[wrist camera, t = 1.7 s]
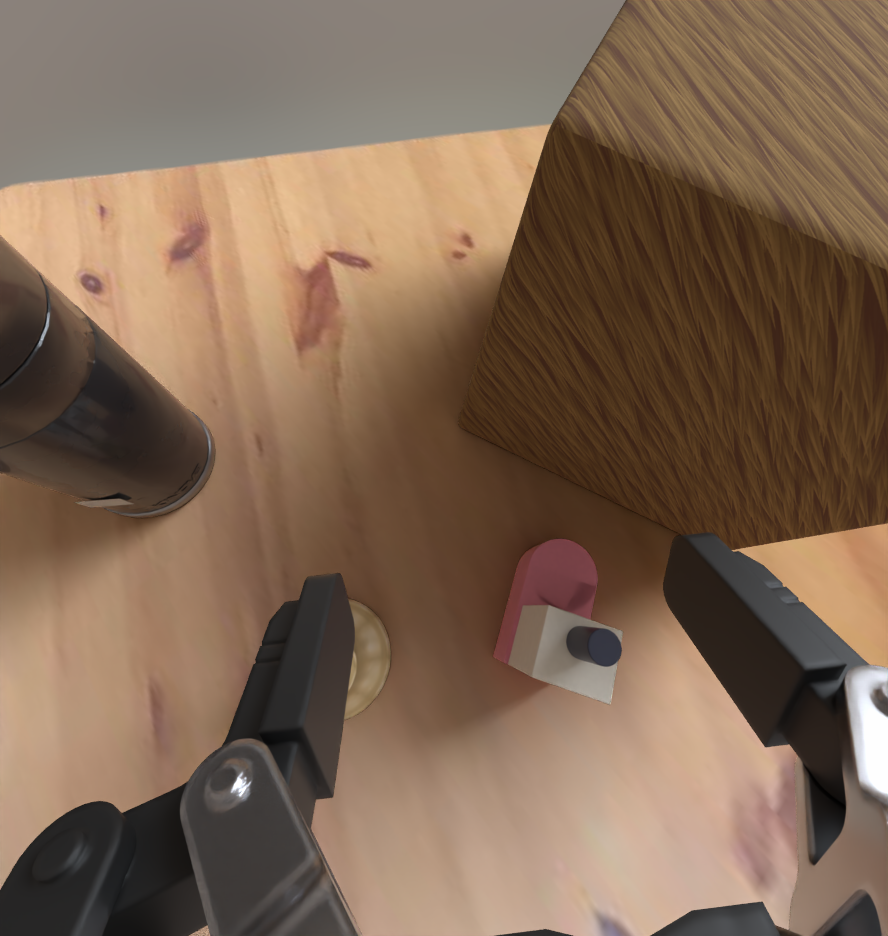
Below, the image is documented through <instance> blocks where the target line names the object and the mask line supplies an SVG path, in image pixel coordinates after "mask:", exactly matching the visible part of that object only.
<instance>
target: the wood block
mask: <svg viewBox="0 0 888 936" xmlns="http://www.w3.org/2000/svg"><path fill="white" fill-rule="evenodd" d="M458 422H459V425H460V427H462V428H463V429H465V430H467V431H469V432H471V433H473V434H475V435H477V436H479V437H481V438H483V439H485V440H487V441H490V442H492V443H494V444H496V445H498V446H500V447H502V448H504V449H506V450H508V451H510V452H512V453H514V454H516V455H518V456H520V457H523V458H525V459H527V460H529V461H531V462H533V463H535V464H537V465H539V466H541V467H543V468H545V469H547V470H549V471H551V472H553V473H556V474H558V475H560V476H562V477H564V478H566V479H568V480H570V481H572V482H574V483H576V484H578V485H580V486H582V487H584V488H586V489H589V490H591V491H593V492H595V493H597V494H599V495H601V496H603V497H605V498H607V499H609V500H611V501H613V502H615V503H617V504H619V505H622V506H624V507H626V508H628V509H630V510H632V511H634V512H636V513H638V514H640V515H642V516H644V517H646V518H648V519H650V520H652V521H655V522H657V523H659V524H661V525H663V526H665V527H667V528H669V529H671V530H673V531H675V532H677V533H679V534H681V535H688V534H697V533H706V532H711V533H713V534H715V535H716V536H717V537H719V538H720V539H721V540H722V541H723V542H724V543H725V544H726V545H727V546H728V547H729V548H730V549H731V550H734V549H740V548H746V547H752V546H758V545H764V544H769V543H775V542H781V541H787V540H793V539H799V538H804V537H810V536H816V535H822V534H828V533H834V532H839V531H845V530H851V529H857V528H863V527H869V526H874V525H880V524H886V523H888V0H626V1H625V3H624V5H623V6H622V8H621V10H620V11H619V13H618V14H617V16H616V18H615V19H614V21H613V23H612V24H611V26H610V28H609V29H608V31H607V33H606V34H605V36H604V38H603V39H602V41H601V43H600V45H599V46H598V48H597V49H596V51H595V53H594V54H593V56H592V58H591V59H590V61H589V63H588V64H587V66H586V67H585V69H584V71H583V72H582V74H581V76H580V77H579V79H578V81H577V82H576V84H575V86H574V87H573V89H572V91H571V93H570V94H569V96H568V97H567V99H566V101H565V102H564V104H563V106H562V107H561V109H560V111H559V112H558V114H557V116H556V118H555V120H554V121H553V123H552V125H551V127H550V129H549V132H548V134H547V137H546V140H545V143H544V146H543V150H542V153H541V156H540V159H539V162H538V166H537V169H536V172H535V175H534V178H533V182H532V185H531V188H530V191H529V195H528V198H527V201H526V204H525V207H524V211H523V214H522V217H521V220H520V223H519V227H518V230H517V233H516V236H515V240H514V243H513V246H512V249H511V252H510V256H509V259H508V262H507V265H506V268H505V272H504V275H503V278H502V281H501V285H500V288H499V291H498V294H497V297H496V301H495V304H494V307H493V310H492V313H491V317H490V320H489V323H488V326H487V330H486V333H485V336H484V339H483V342H482V346H481V349H480V352H479V355H478V358H477V362H476V365H475V368H474V371H473V375H472V378H471V381H470V384H469V387H468V391H467V394H466V397H465V400H464V403H463V407H462V410H461V413H460V416H459V421H458Z"/></svg>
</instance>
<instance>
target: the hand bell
mask: <svg viewBox="0 0 888 936" xmlns="http://www.w3.org/2000/svg"><path fill="white" fill-rule="evenodd" d="M348 600H349V604H350V607H351V611H352V615H353V619H354V626H355V644H354V651H353V659H352V666H351V673H350V680H349V687H348V694H347V701H346V709H345V716H344V720H346V719H349V718H351V717H353V716H355V715H357V714H359V713H360V712H362V711H363V710H364V709H366V708H367V707H368V706H369V705H370V704H371V703H372V702H373V701H374V699H375V698H376V697H377V696H378V694H379V693H380V691H381V689H382V688H383V686H384V684H385V681H386V679H387V676H388V673H389V669H390V662H391V649H390V642H389V637H388V635H387V632H386V629H385V627H384V625H383V623H382V622H381V620H380V619H379V618H378V616H377V615H376V614H375V613H374V612H373V611H372V610H371V609H370V608H368V607H367V606H365V605H363V604H361V603H359V602H357V601H354V600H351V599H348Z"/></svg>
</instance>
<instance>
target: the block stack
mask: <svg viewBox="0 0 888 936" xmlns="http://www.w3.org/2000/svg"><path fill="white" fill-rule="evenodd" d="M597 582H598V575H597V569H596V566H595V563H594V561H593V559H592V557H591V556H590V554H589V553H588V552H587V551H586V550H585V549H584V548H583V547H582V546H580V545H579V544H577V543H576V542H573V541H571V540H567V539H552V540H549V541H546V542H544V543H542V544H539V545H537V546H535V547H533V548H531V549H529V550H528V551H527V552H525V553H524V555H523V556H522V557H521V559H520V560H519V562H518V565H517V569H516V572H515V576H514V580H513V584H512V587H511V591H510V595H509V599H508V602H507V606H506V610H505V613H504V617H503V621H502V625H501V628H500V632H499V636H498V640H497V643H496V647H495V651H494V654H493V657H494V658H496V659H498V660H499V661H501V662H503V663H505V664H508V665H510V666H512V667H514V668H516V669H518V670H519V671H521V672H523V673H525V674H527V675H529V676H531V677H533V678H535V679H538V680H541V681H544V682H547V683H549V684H552V685H555V686H558V687H561V688H564V689H566V690H569V691H572V692H575V693H578V694H581V695H583V696H586V697H589V698H592V699H595V700H598V701H600V702H603V703H606V704H609V705H610V704H611V698H612V693H613V687H614V681H615V675H616V670H617V664H618V660H619V659H620V656H621V652H622V648H621V641H622V636H623V631H622V630H619V629H616V628H613V627H610V626H607V625H605V624H602V623H599V622H596V621H593V620H590V618H591V613H592V608H593V603H594V598H595V593H596V589H597Z"/></svg>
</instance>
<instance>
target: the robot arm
mask: <svg viewBox="0 0 888 936" xmlns="http://www.w3.org/2000/svg"><path fill="white" fill-rule="evenodd" d="M214 461H215V444H214V440H213V437H212V434H211V433H210V431H209V429H208V427H207V426H206V425H205V424H204V422H203V421H202V420H201V419H200V418H198V417H197V416H196V415H195V414H194V413H193V412H191V411H190V410H188V409H187V408H186V407H185V406H184V405H183V404H181V403H180V401H178V400H177V399H176V398H175V397H174V396H173V395H172V394H171V393H170V392H169V391H168V390H167V389H166V388H165V387H164V386H162V385H161V384H160V383H159V382H158V381H157V380H156V379H155V378H154V377H153V376H152V375H151V374H150V373H148V372H147V371H146V370H145V369H144V368H143V367H142V366H141V365H140V364H139V363H138V362H137V361H136V360H134V359H133V358H132V357H131V356H130V355H129V354H128V353H127V352H126V351H125V350H124V349H123V348H122V347H120V346H119V345H118V344H117V343H116V342H115V341H114V340H113V339H112V338H111V337H110V336H109V335H108V334H106V333H105V332H104V331H103V330H102V329H101V328H100V327H99V326H98V325H97V324H96V323H95V322H94V321H92V320H91V319H90V318H89V317H88V316H87V315H86V314H85V313H84V312H83V311H82V310H81V309H80V308H79V307H77V306H76V305H75V304H74V303H73V302H72V301H70V300H69V299H68V298H67V297H66V296H65V295H64V294H63V293H62V292H61V291H60V290H59V289H58V288H56V287H55V286H54V285H53V284H52V283H51V282H50V281H49V280H48V279H47V278H46V277H45V276H44V275H42V274H41V273H40V272H39V271H38V270H37V269H36V268H35V267H34V266H33V265H32V264H31V263H30V262H29V261H27V260H26V259H25V258H24V257H23V256H22V255H21V254H20V253H19V252H18V251H17V250H16V249H14V248H13V247H12V246H11V245H10V244H9V243H8V242H7V241H6V240H5V239H4V238H3V237H2V236H1V235H0V473H3V474H6V475H9V476H12V477H15V478H18V479H21V480H24V481H27V482H30V483H33V484H35V485H38V486H41V487H44V488H47V489H50V490H53V491H56V492H59V493H62V494H65V495H68V496H71V497H74V498H77V499H80V500H83V501H84V502H74V503H77V504H80V505H84V506H87V507H90V508H92V507H102V508H104V509H106V510H108V511H111V512H114V513H117V514H120V515H123V516H127V517H134V518H147V517H154V516H159V515H162V514H166V513H168V512H171V511H173V510H175V509H177V508H179V507H181V506H182V505H184V504H185V503H187V502H188V501H190V500H191V499H192V498H193V497H194V496H195V495H196V494H197V493H198V492H199V491H200V490H201V489H202V487H203V486H204V485H205V483H206V482H207V480H208V478H209V476H210V474H211V472H212V469H213V465H214ZM663 591H664V596H665V599H666V602H667V604H668V606H669V608H670V610H671V611H672V613H673V614H674V616H675V617H676V619H677V620H678V622H679V623H680V624H681V626H682V627H683V629H684V630H685V632H686V633H687V635H688V636H689V638H690V639H691V640H692V642H693V643H694V645H695V646H696V648H697V649H698V651H699V652H700V653H701V655H702V656H703V658H704V659H705V661H706V662H707V664H708V665H709V666H710V668H711V669H712V671H713V672H714V674H715V675H716V677H717V678H718V680H719V681H720V682H721V684H722V685H723V687H724V688H725V690H726V691H727V693H728V694H729V695H730V697H731V698H732V700H733V701H734V703H735V704H736V706H737V707H738V709H739V710H740V711H741V713H742V714H743V716H744V717H745V719H746V720H747V722H748V723H749V724H750V726H751V727H752V729H753V730H754V732H755V733H756V735H757V736H758V738H759V739H760V740H761V742H762V743H763V745H764V746H765V747H771V746H779V745H788V744H790V746H791V747H792V748H793V750H794V751H795V752H796V754H797V755H798V757H797V759H796V762H795V796H796V824H797V852H798V873H797V881H796V886H795V889H794V892H793V896H792V901H791V907H790V917H789V930H786V929H784V928H781V927H778V926H775V925H774V923H773V921H772V919H771V917H770V915H769V913H768V911H767V909H766V907H765V906H764V904H763V902H756V903H748V904H740V905H732V906H724V907H716V908H708V909H701V910H693V911H691V912H689V913H687V914H686V915H684V916H682V917H681V918H679V919H677V920H676V921H674V922H672V923H671V924H669V925H667V926H666V927H664V928H662V929H661V930H659V931H657V932H656V933H654V934H652V935H651V936H888V668H886V667H881V666H876V665H869V664H868V663H867V662H866V661H865V660H864V659H863V658H861V657H860V656H859V655H858V654H857V653H856V652H855V651H854V650H853V649H852V648H851V647H850V646H849V645H848V644H847V643H845V642H844V641H843V640H842V639H841V638H840V637H839V636H838V635H837V634H836V633H835V632H834V631H833V630H832V629H831V628H830V627H828V626H827V625H826V624H825V623H824V622H823V621H822V620H821V619H820V618H819V617H818V616H817V615H816V614H815V613H814V612H813V611H811V610H810V609H809V608H808V607H807V606H806V605H805V604H804V603H803V602H799V600H798V597H797V596H795V595H794V594H793V593H792V592H791V591H790V590H789V589H788V588H787V587H783V585H782V582H781V581H780V580H778V579H777V578H776V577H775V576H774V575H773V574H772V573H771V572H770V571H769V570H768V569H767V568H766V567H765V566H764V565H762V564H760V563H758V562H757V561H755V560H753V559H751V558H750V557H748V556H746V555H744V554H743V553H741V552H739V551H737V552H733V551H732V550H731V549H730V548H729V547H728V546H727V545H726V544H725V543H724V542H723V541H722V540H721V539H720V538H719V537H717V536H716V535H715V534H713V533H711V532H706V533H697V534H688V535H680V536H676V537H675V538H674V539H673V542H672V545H671V550H670V555H669V559H668V564H667V568H666V573H665V577H664V582H663ZM354 644H355V626H354V619H353V615H352V611H351V607H350V604H349V600H348V596H347V593H346V589H345V585H344V582H343V578H342V576H341V574H340V573H335V574H326V575H317V576H309V577H307V578H306V580H305V582H304V585H303V589H302V592H301V595H300V598H299V600H297V601H289V602H285V603H284V604H283V605H282V606H281V608H280V609H279V610H278V611H277V612H276V614H275V615H274V616H273V617H272V619H271V620H270V621H269V624H268V627H267V629H266V632H265V635H264V637H263V640H262V646H260V648H259V651H258V654H257V656H256V659H255V660H256V663H255V664H254V665H253V667H252V670H251V673H250V675H249V678H248V681H247V684H246V686H245V689H244V692H243V694H242V697H241V700H240V703H239V705H238V708H237V711H236V713H235V716H234V719H233V722H232V724H231V727H230V730H229V732H228V735H227V737H226V739H225V742H224V743H223V745H222V747H220V748H219V749H217V750H215V751H214V752H213V753H212V754H210V755H209V756H208V757H207V758H206V759H205V760H204V761H203V762H202V763H201V764H200V765H199V766H198V768H197V769H196V770H195V772H194V773H193V774H192V776H191V777H190V779H189V781H188V782H186V783H185V784H183V785H182V786H180V787H178V788H176V789H174V790H172V791H170V792H167V793H165V794H163V795H161V796H159V797H156V798H154V799H152V800H150V801H148V802H145V803H143V804H141V805H139V806H137V807H134V808H132V809H130V810H128V811H126V812H123V813H121V812H120V811H119V810H118V809H117V808H116V807H115V806H114V805H113V804H111V803H108V802H103V801H97V802H91V803H87V804H84V805H81V806H79V807H77V808H75V809H73V810H71V811H69V812H67V813H66V814H64V815H63V816H61V817H60V818H58V819H57V820H56V821H54V822H53V823H52V824H51V825H49V826H48V827H47V828H46V829H45V830H44V831H43V832H42V833H41V834H40V835H38V836H37V838H36V839H35V840H34V841H33V842H32V843H31V844H30V845H29V846H28V848H27V849H26V850H25V851H24V853H23V854H22V855H21V857H20V858H19V860H18V861H17V863H16V864H15V866H14V867H13V869H12V871H11V873H10V874H9V876H8V878H7V879H6V881H5V883H4V884H3V886H2V888H1V890H0V936H189V935H190V934H192V933H194V932H196V931H198V930H199V929H201V928H203V927H205V926H207V925H208V928H209V932H210V936H363V934H362V932H361V930H360V928H359V926H358V924H357V922H356V920H355V918H354V916H353V914H352V912H351V910H350V908H349V906H348V904H347V902H346V900H345V898H344V895H343V893H342V891H341V889H340V887H339V885H338V883H337V881H336V879H335V877H334V875H333V873H332V871H331V869H330V867H329V865H328V863H327V861H326V859H325V857H324V854H323V852H322V850H321V848H320V846H319V844H318V842H317V840H316V838H315V836H314V834H313V832H312V830H311V825H312V819H313V813H314V807H315V801H316V799H324V798H332V797H333V794H334V787H335V780H336V773H337V766H338V759H339V751H340V744H341V737H342V730H343V723H344V716H345V709H346V701H347V694H348V687H349V680H350V673H351V666H352V659H353V651H354ZM496 936H572V935H568V934H564V933H560V932H556V931H552V930H547V929H543V930H536V931H528V932H520V933H512V934H504V935H496Z"/></svg>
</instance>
